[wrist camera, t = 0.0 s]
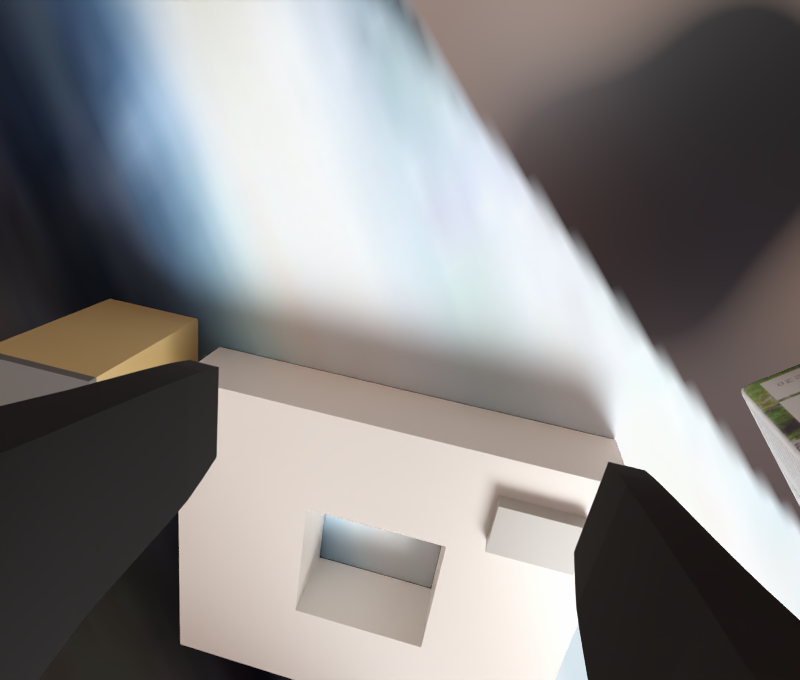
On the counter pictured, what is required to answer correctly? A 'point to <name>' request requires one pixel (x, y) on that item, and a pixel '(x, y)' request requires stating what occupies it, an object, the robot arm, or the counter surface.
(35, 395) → the plug
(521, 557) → the socket plate
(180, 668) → the counter surface
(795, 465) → the syrup box
